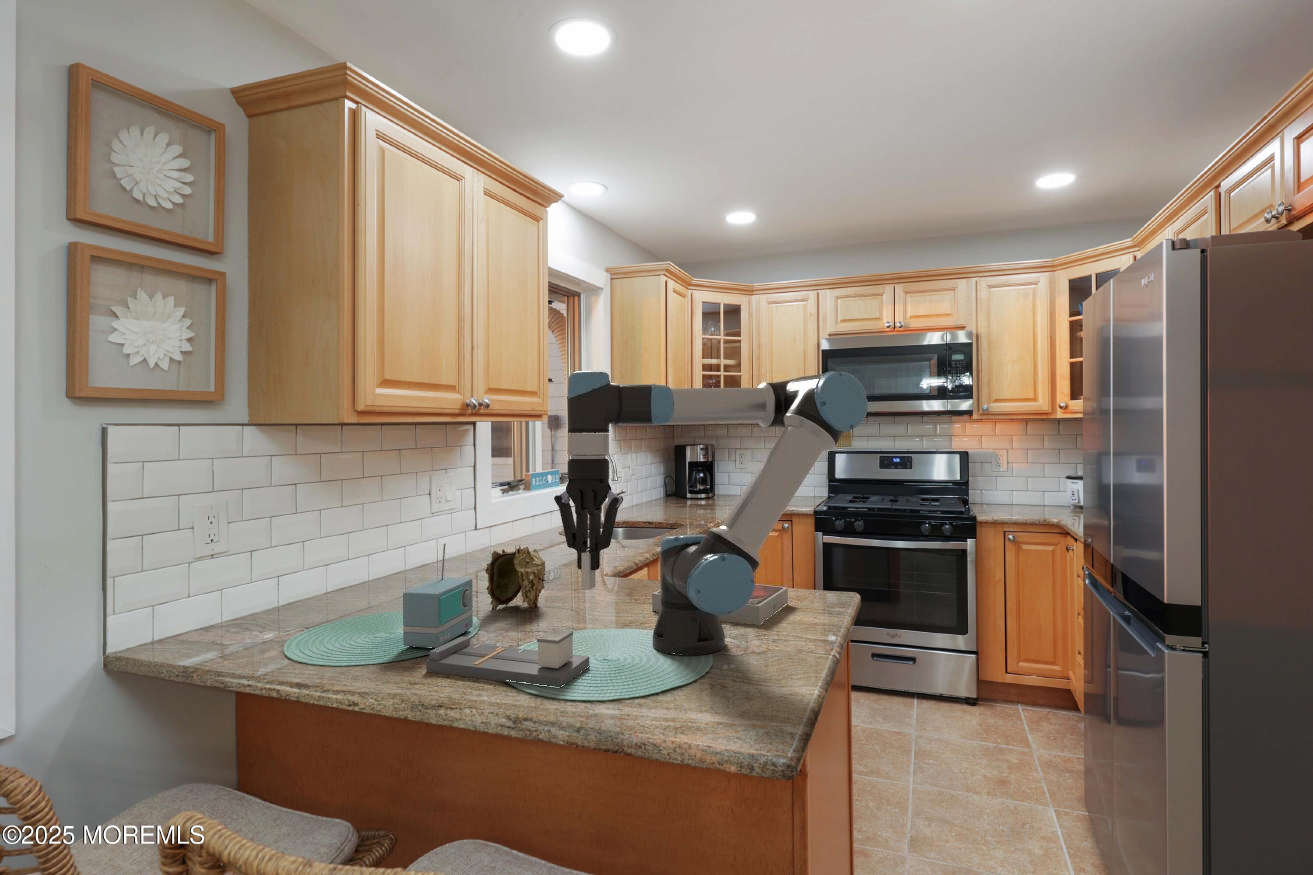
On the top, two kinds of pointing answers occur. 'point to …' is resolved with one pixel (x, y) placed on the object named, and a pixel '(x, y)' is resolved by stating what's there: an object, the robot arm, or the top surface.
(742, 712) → the top surface
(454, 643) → the fader console
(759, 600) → the product packaging
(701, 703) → the top surface
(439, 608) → the radio
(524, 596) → the seashell
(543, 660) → the fader tab
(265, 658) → the top surface
